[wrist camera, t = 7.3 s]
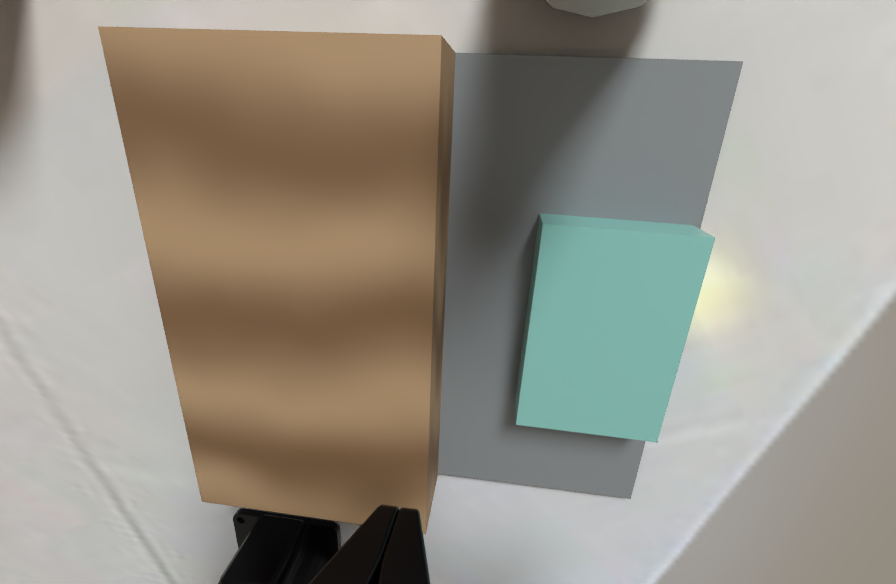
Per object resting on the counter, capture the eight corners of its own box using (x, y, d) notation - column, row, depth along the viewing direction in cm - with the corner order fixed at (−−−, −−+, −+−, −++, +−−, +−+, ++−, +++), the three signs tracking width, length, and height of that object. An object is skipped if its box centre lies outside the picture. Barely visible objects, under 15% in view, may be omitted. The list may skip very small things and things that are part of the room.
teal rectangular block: (515, 424, 19) (515, 398, 21) (656, 442, 19) (643, 413, 21) (542, 223, 16) (539, 213, 18) (714, 237, 16) (693, 225, 17)
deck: (438, 469, 24) (425, 533, 20) (246, 445, 25) (201, 501, 21) (456, 54, 17) (441, 35, 13) (183, 45, 18) (98, 26, 14)
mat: (629, 494, 23) (630, 498, 23) (438, 469, 24) (437, 473, 24) (738, 62, 16) (743, 61, 15) (456, 54, 17) (455, 52, 16)
